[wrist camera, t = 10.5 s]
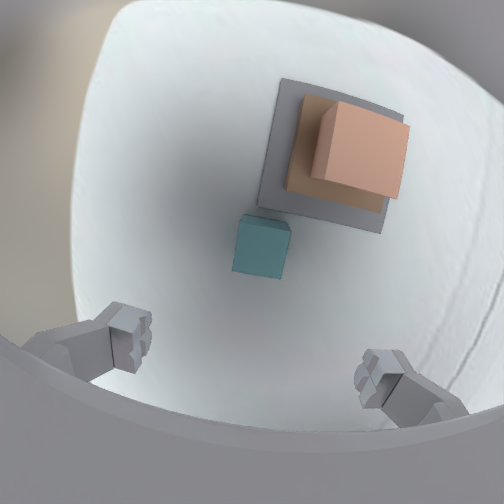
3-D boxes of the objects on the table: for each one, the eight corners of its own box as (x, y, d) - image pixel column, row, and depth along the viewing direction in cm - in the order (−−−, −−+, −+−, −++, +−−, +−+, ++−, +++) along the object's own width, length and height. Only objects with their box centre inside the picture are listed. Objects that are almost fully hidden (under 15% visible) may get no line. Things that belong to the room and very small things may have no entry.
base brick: (367, 208, 23) (380, 213, 21) (283, 188, 23) (286, 191, 20) (383, 126, 21) (397, 122, 18) (300, 102, 21) (305, 93, 18)
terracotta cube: (369, 192, 20) (396, 199, 15) (310, 177, 20) (324, 178, 15) (380, 134, 19) (409, 126, 14) (321, 116, 19) (338, 100, 14)
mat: (378, 232, 25) (380, 234, 24) (256, 205, 24) (256, 206, 24) (400, 116, 21) (403, 115, 21) (281, 80, 21) (281, 78, 20)
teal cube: (278, 263, 26) (280, 279, 22) (236, 255, 26) (231, 270, 22) (286, 222, 25) (291, 231, 21) (243, 214, 25) (239, 222, 21)
